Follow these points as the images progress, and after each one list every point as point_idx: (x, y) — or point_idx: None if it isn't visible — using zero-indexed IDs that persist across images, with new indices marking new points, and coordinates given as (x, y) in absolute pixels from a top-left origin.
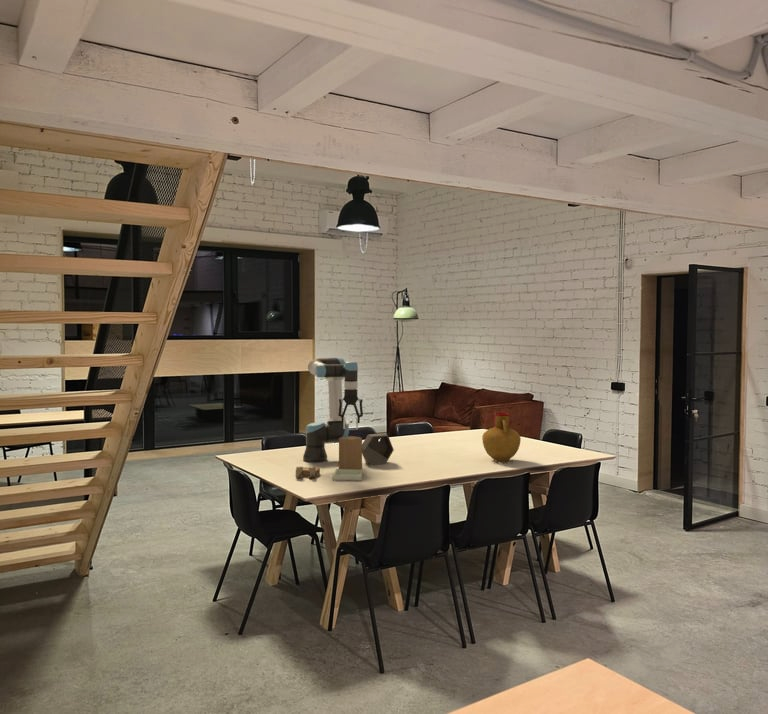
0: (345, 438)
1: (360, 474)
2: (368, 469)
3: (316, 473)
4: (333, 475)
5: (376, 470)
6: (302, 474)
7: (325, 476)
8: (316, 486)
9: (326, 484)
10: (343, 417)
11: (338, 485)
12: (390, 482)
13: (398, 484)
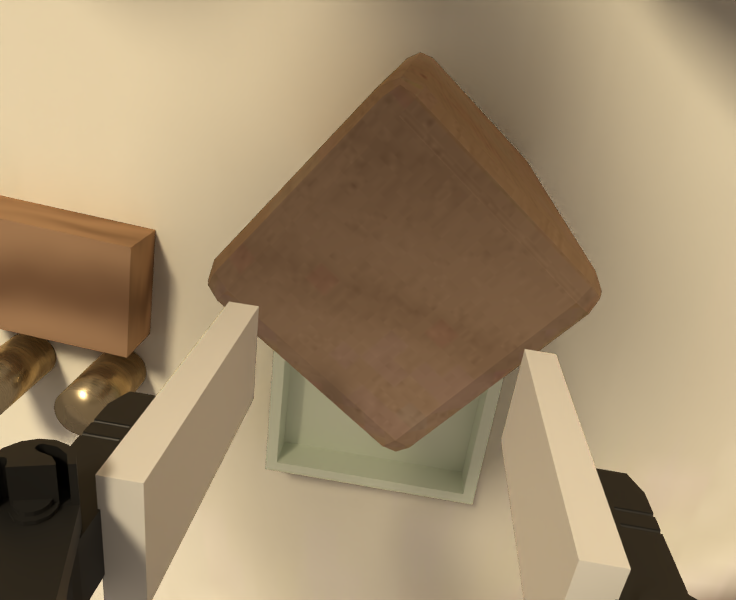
0: (309, 370)
1: (473, 478)
2: (617, 55)
3: (134, 345)
4: (270, 466)
5: (690, 112)
6: (39, 376)
7: (211, 319)
8: (186, 563)
9: (240, 530)
10: (96, 573)
11: (315, 560)
12: (675, 537)
13: (712, 588)
